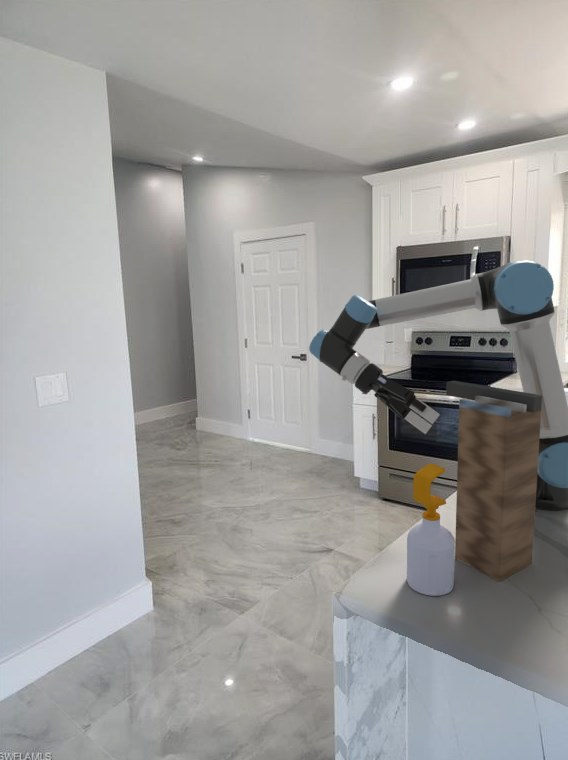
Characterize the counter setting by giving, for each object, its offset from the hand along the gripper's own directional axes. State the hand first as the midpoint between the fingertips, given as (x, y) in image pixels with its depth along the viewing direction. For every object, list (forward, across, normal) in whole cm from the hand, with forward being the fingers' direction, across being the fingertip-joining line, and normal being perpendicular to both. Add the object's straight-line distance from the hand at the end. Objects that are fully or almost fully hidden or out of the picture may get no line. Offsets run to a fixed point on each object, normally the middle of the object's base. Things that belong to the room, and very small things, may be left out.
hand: (432, 425), depth 122 cm
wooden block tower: (+27, +4, -17) cm, 33 cm away
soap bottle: (+19, +13, -30) cm, 38 cm away
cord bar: (+7, +16, +8) cm, 18 cm away
